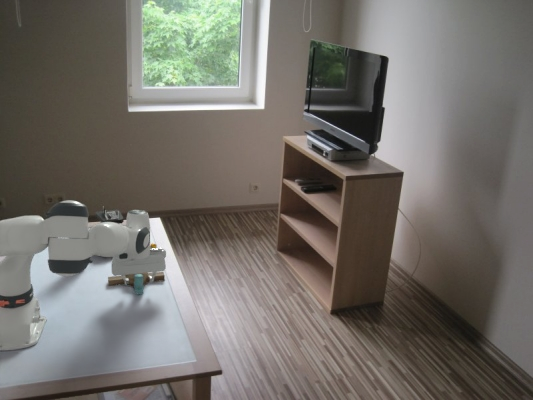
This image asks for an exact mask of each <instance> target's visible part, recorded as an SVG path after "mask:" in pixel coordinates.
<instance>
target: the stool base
mask: <svg viewBox="0 0 533 400" xmlns="http://www.w3.org/2000/svg"><path fill="white" fill-rule="evenodd" d="M138 274H141V275H143V287H144V286H145V285H147V284H148V283H151V282H150V281H149V276H152V274H153V273H152V272H149V273H138ZM135 275H137V274H128V275H125V277H126V278H128V280H129V284H125V282H124V279H123V278H122V276H121V275H117V276H114V275H113V276H108V277H107V282H108V283H107V285H108V287H112V286H113V287H114V286H123V285H126V286H128V287H131V288H134V282H135V278H134V276H135ZM162 281H163V282H165V272H164V271H160V272H156V275H155V277H154V282H162ZM154 282H153V283H154Z"/></svg>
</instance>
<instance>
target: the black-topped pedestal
mask: <svg viewBox="0 0 533 400" xmlns="http://www.w3.org/2000/svg"><path fill="white" fill-rule="evenodd" d="M95 218H97V220H98V221H99V223H102V222H114V223H118V224H123V223H124V220H125V219H124V216H123V215H122V213H121V211H120V210H119V209H112V210H110V209H109V210H108V209H107V210H106V209H105V207H104V206H102V210H100V211H95Z"/></svg>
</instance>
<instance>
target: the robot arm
mask: <svg viewBox="0 0 533 400" xmlns="http://www.w3.org/2000/svg"><path fill="white" fill-rule="evenodd" d="M43 216H45V219H44V218H43V217H42V216H40V215H21V216H16V217H13V218H11V217H10V218H7V219H2V220H0V258H1V257H4V258H3V259H2V260H1V261H0V351H14V350H21V349H26V348H30V347H33V346H35V345H37V344H38V342H39V340H40V337H41V335H42V333H43V330H44V329H45V325H46V323H47V317H46V316H43V315H41V310H40V301H39V299H38V298H37V297H35V296H34V287H33V283H32V281H31V267H32V261H33V260H34V256H35V255H38V254H39V253H42V252H43V251H45V250H46V249H47V250H48V259H47V265H48V269H49V271H50V272H51V273H53V274H56V275H58V276H61V277H72V276H75V275H78V274H81V273H82V272H83V271H85V270H86V269H87V267H88V265H89V264H93V262H94V260H91V258H92V257H93V256H100V257H101V256H102V258H110V257H111V258H112V261H111V275H113V276H122V278H123V279H124V282H125V285H126V284H129V280H128V278H126V277H125V275H128V274H138V273H153V274H152V276H149V281H150V282H149V283H151V282H153V283H154V277H155V275H156V272H164V271H165V270H166V260H165V258H166V257H167V251H166V249H164V248H161V247H159V248H157V249H150V245H151V223H150V215H149V213H148V211H146V210H144V209H143V210H142V209H132V210H129V211H127V214H126V221H125V222H126V223H125V225H122V224H121V223H119V224H118V223H114V222H102V223H100V222H99V223H97V224H95V225H93V226H91V227H89V217H90V215H89V210H88V207H87V205H85V204H84V203H81V202H79V201H76V200H69V199H67V200H63V201H59V202H57V203H54V205H53V206H51V207H50V208H49V210H48V211H47V212H44V214H43ZM73 238H80V239H73Z"/></svg>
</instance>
